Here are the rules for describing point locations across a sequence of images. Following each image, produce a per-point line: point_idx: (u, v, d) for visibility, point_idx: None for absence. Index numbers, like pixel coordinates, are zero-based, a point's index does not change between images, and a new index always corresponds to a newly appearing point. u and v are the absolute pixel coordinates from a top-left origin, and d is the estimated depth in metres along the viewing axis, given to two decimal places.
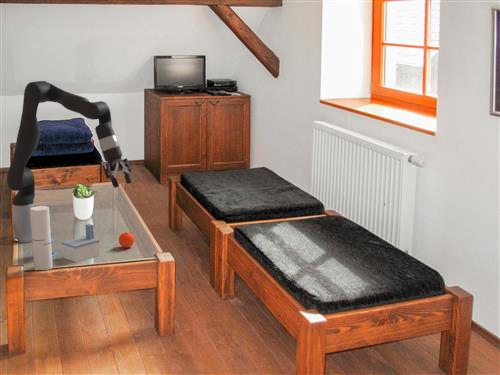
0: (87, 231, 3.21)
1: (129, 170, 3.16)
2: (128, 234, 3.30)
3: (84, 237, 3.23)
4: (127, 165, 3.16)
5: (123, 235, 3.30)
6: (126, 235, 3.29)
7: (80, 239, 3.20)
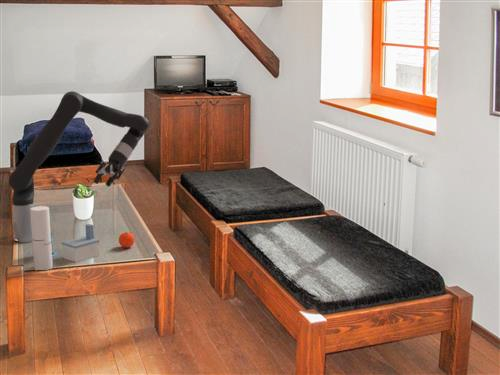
0: (87, 231, 3.21)
1: (100, 174, 3.33)
2: (128, 234, 3.30)
3: (84, 237, 3.23)
4: None
5: (123, 235, 3.30)
6: (126, 235, 3.29)
7: (80, 239, 3.20)
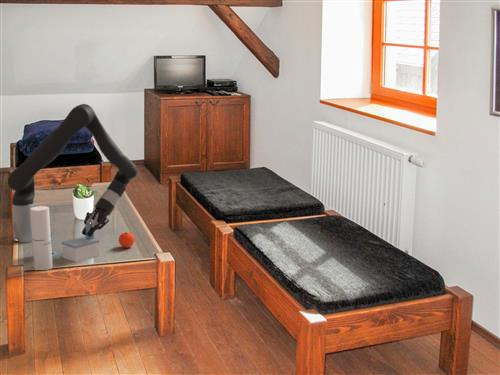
0: (87, 231, 3.21)
1: None
2: (128, 234, 3.30)
3: (84, 237, 3.23)
4: None
5: (123, 235, 3.30)
6: (126, 235, 3.29)
7: (80, 239, 3.20)
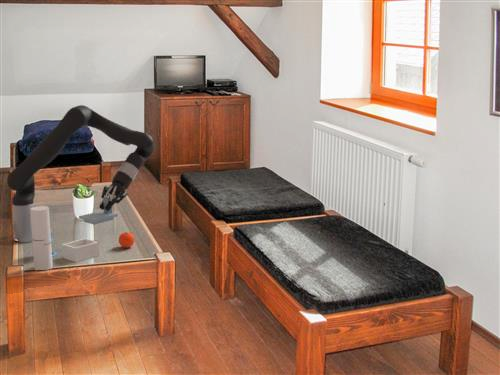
0: (105, 205, 3.09)
1: None
2: (128, 234, 3.30)
3: (102, 211, 3.12)
4: None
5: (123, 235, 3.30)
6: (126, 235, 3.29)
7: (98, 213, 3.09)
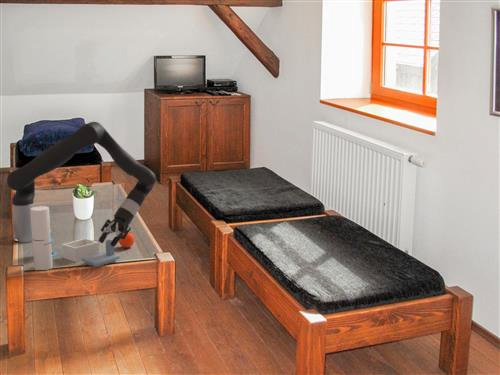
0: (107, 247, 3.13)
1: None
2: (128, 234, 3.30)
3: (104, 253, 3.16)
4: None
5: None
6: None
7: (100, 255, 3.13)
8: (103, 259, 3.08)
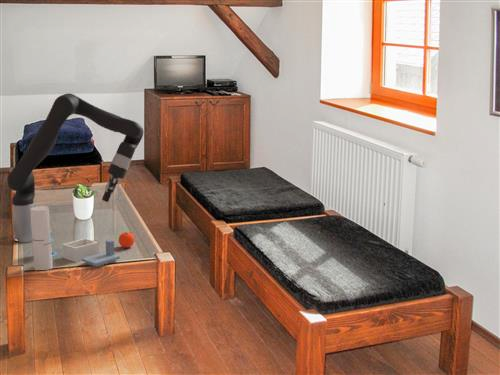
0: (107, 247, 3.13)
1: None
2: (128, 234, 3.30)
3: (104, 253, 3.16)
4: None
5: (123, 235, 3.30)
6: (126, 235, 3.29)
7: (100, 255, 3.13)
8: (103, 259, 3.08)
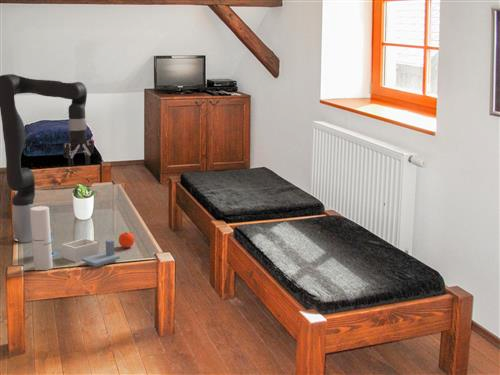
0: (107, 247, 3.13)
1: (91, 152, 3.33)
2: (128, 234, 3.30)
3: (104, 253, 3.16)
4: (90, 147, 3.32)
5: (123, 235, 3.30)
6: (126, 235, 3.29)
7: (100, 255, 3.13)
8: (103, 259, 3.08)
